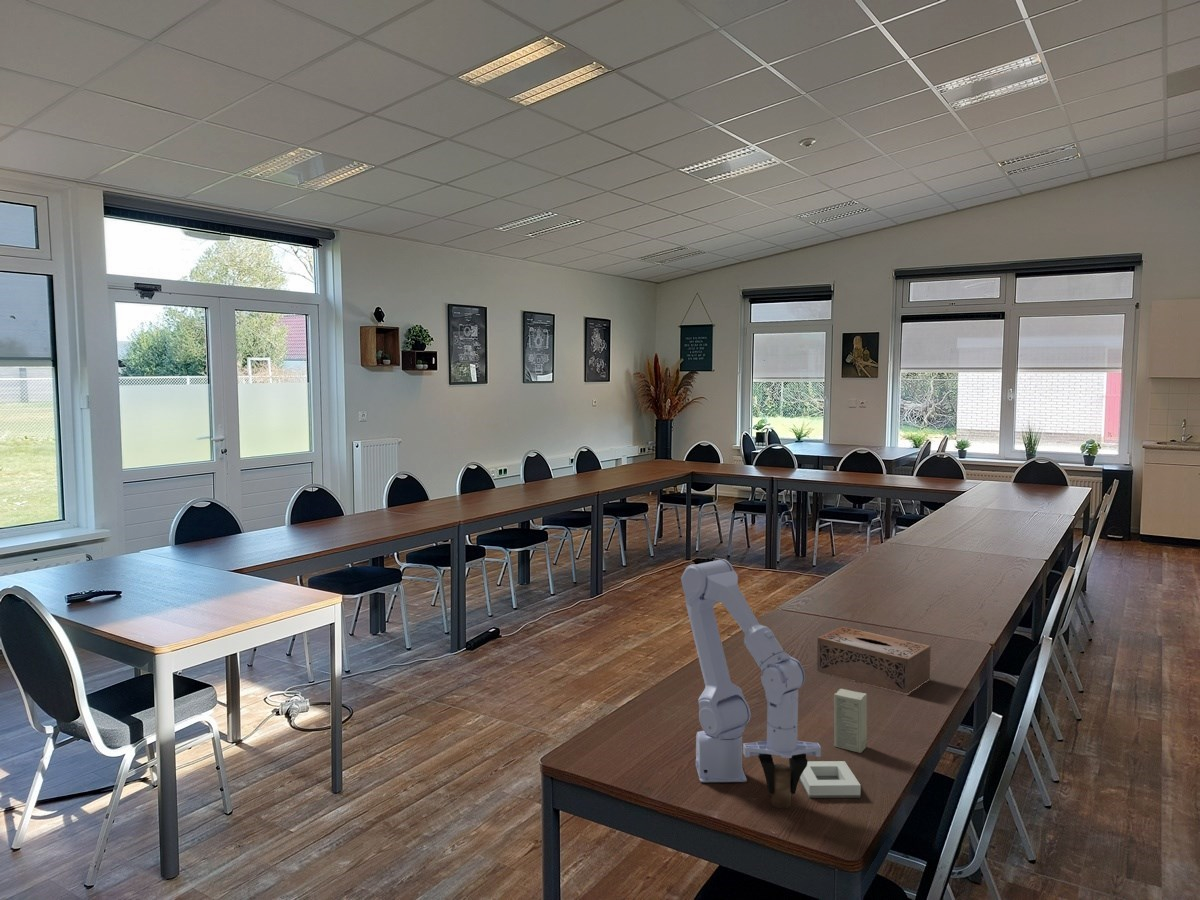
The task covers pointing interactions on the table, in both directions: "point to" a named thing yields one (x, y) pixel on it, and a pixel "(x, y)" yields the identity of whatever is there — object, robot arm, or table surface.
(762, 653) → the robot arm
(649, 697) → the table surface
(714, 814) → the table surface
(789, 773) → the pin
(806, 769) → the socket block
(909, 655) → the tissue box cover
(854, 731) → the skincare box
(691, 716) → the table surface
